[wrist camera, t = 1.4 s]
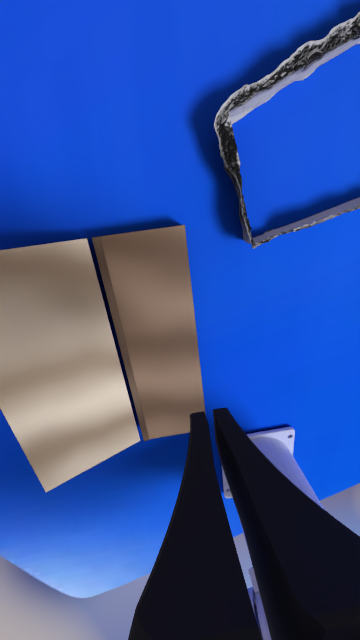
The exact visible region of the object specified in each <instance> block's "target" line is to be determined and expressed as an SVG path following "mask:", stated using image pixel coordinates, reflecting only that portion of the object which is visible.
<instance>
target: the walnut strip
mask: <svg viewBox="0 0 360 640" xmlns="http://www.w3.org/2000/svg"><path fill="white" fill-rule="evenodd" d="M92 241H93V245H94V248H95V252H96V256H97V260H98V264H99V268H100V272H101V276H102V280H103V283H104V287H105V291H106V295H107V299H108V303H109V307H110V311H111V315H112V319H113V322H114V326H115V330H116V334H117V338H118V342H119V346H120V350H121V354H122V358H123V361H124V365H125V369H126V373H127V377H128V381H129V385H130V389H131V393H132V397H133V400H134V404H135V408H136V412H137V416H138V420H139V424H140V428H141V432H142V436H143V439H144V441H147V440H149V439H153V438H159V437H165V436H171V435H177V434H183V433H189V432H190V414H191V413H196V412H202V411H204V412H205V406H204V397H203V388H202V379H201V369H200V360H199V351H198V342H197V333H196V324H195V315H194V306H193V297H192V288H191V278H190V269H189V260H188V251H187V242H186V233H185V225H180V226H172V227H165V228H158V229H150V230H143V231H136V232H129V233H121V234H114V235H107V236H99V237H93V238H92Z"/></svg>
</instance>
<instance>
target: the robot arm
mask: <svg viewBox="0 0 360 640" xmlns="http://www.w3.org/2000/svg"><path fill="white" fill-rule="evenodd" d="M213 416H214V427H215V438H216V444H217V448H218V452H219V456H220V460H221V465H222V477H223V488H224V496H225V497H226V498H233V500H234V503H235V506H236V509H237V511H238V514H239V518H240V522H241V525H242V529H243V532H244V536H245V539H246V543H247V546H248V550H249V553H250V557H251V561H252V565H253V567H252V568H251V569H249V574H250V577H251V581H252V585H253V587H251V588H249V589H247V586H246V583H245V580H244V576H243V572H242V569H241V565H240V562H239V558H238V555H237V551H236V548H235V544H234V541H233V537H232V533H231V529H230V526H229V522H228V518H227V515H226V511H225V507H224V503H223V500H222V496H221V492H220V488H219V484H218V480H217V476H216V471H215V466H214V460H213V453H212V446H211V440H210V433H209V426H208V422H207V418H206V415H205V412H204V411H202V412H196V413H191V414H190V437H189V445H188V453H187V459H186V464H185V468H184V473H183V478H182V482H181V486H180V490H179V494H178V497H177V501H176V504H175V508H174V511H173V514H172V517H171V520H170V523H169V526H168V529H167V532H166V535H165V538H164V540H163V543H162V546H161V548H160V551H159V554H158V556H157V559H156V562H155V564H154V567H153V569H152V572H151V574H150V576H149V579H148V581H147V584H146V586H145V588H144V590H143V593H142V595H141V597H140V600H139V602H138V604H137V607H136V610H135V614H134V618H133V622H132V626H131V630H130V634H129V638H128V640H360V536H358V535H357V534H355V533H354V532H352V531H351V530H350V529H349V528H347V527H346V526H345V525H343V524H342V523H341V522H339V521H338V520H336V519H335V518H334V517H333V516H331V515H330V514H329V513H328V512H327V511H325V510H324V508H323V506H322V505H321V503H320V501H319V500H318V498H317V496H316V494H315V493H314V491H313V489H312V488H311V486H310V484H309V483H308V481H307V479H306V478H305V476H304V474H303V472H302V471H301V469H300V467H299V466H298V464H297V462H296V461H295V459H294V457H293V448H294V436H295V430H294V429H293V428H292V427H285V428H279V429H274V430H268V431H262V432H256V433H250V434H246V433H245V432H244V431H243V430H242V428H241V427H240V426H239V424H238V423H237V422H236V420H235V419H234V418H233V416H232V415H231V413H230V412H229V410H228V409H227V408H220V409H214V410H213Z"/></svg>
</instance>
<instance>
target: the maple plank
mask: <svg viewBox="0 0 360 640" xmlns="http://www.w3.org/2000/svg"><path fill="white" fill-rule="evenodd" d="M0 409H1V410H2V412H3V414H4V416H5V418H6V420H7V421H8V423H9V425H10V427H11V429H12V431H13V432H14V434H15V436H16V438H17V440H18V442H19V444H20V445H21V447H22V449H23V451H24V453H25V455H26V456H27V458H28V460H29V462H30V464H31V466H32V468H33V469H34V471H35V473H36V475H37V477H38V479H39V480H40V482H41V484H42V486H43V488H44V490H45V491H46V492H48V491H50V490H51V489H53V488H55V487H57V486H59V485H61V484H62V483H64V482H66V481H68V480H70V479H71V478H73V477H75V476H77V475H79V474H81V473H82V472H84V471H86V470H88V469H90V468H91V467H93V466H95V465H97V464H99V463H100V462H102V461H104V460H106V459H108V458H110V457H111V456H113V455H115V454H117V453H119V452H120V451H122V450H124V449H126V448H128V447H130V446H131V445H133V444H135V443H137V442H139V441H140V437H139V433H138V430H137V426H136V422H135V418H134V415H133V411H132V407H131V403H130V399H129V396H128V392H127V388H126V384H125V380H124V377H123V373H122V369H121V365H120V362H119V358H118V354H117V350H116V346H115V343H114V339H113V335H112V331H111V328H110V324H109V320H108V316H107V312H106V309H105V305H104V301H103V297H102V293H101V290H100V286H99V282H98V278H97V275H96V271H95V267H94V263H93V259H92V256H91V252H90V248H89V244H88V240H87V238H85V239H78V240H70V241H63V242H56V243H49V244H42V245H34V246H27V247H20V248H13V249H6V250H0Z"/></svg>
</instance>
